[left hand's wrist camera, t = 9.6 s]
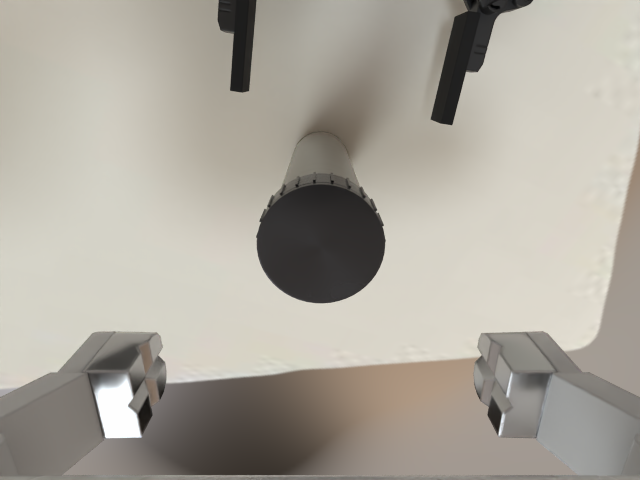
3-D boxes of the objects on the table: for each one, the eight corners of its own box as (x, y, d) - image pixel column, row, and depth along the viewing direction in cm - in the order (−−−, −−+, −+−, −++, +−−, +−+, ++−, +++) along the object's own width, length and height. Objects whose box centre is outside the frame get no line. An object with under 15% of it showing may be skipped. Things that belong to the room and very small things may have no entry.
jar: (347, 130, 34) (377, 187, 17) (348, 186, 36) (375, 290, 18) (291, 132, 34) (261, 191, 17) (294, 187, 36) (269, 293, 18)
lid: (381, 169, 18) (389, 180, 16) (379, 281, 20) (385, 303, 18) (256, 173, 18) (249, 184, 16) (266, 284, 20) (260, 306, 18)
